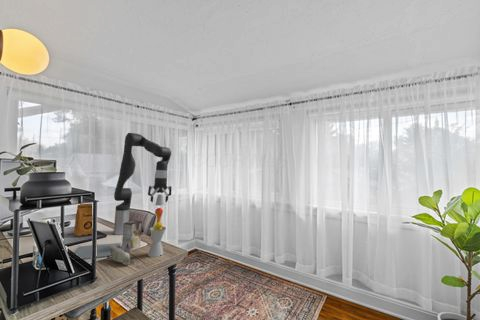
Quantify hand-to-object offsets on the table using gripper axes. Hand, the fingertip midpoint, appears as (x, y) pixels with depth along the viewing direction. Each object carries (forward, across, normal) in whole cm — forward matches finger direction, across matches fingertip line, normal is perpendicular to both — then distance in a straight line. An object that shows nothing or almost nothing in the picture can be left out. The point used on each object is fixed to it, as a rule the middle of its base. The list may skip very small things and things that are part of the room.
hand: (159, 202), depth 139 cm
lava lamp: (+28, +1, +14) cm, 31 cm away
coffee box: (+28, +14, 0) cm, 32 cm away
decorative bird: (+29, +20, +18) cm, 39 cm away
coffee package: (+28, +44, -36) cm, 63 cm away
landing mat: (+28, +31, 0) cm, 42 cm away
